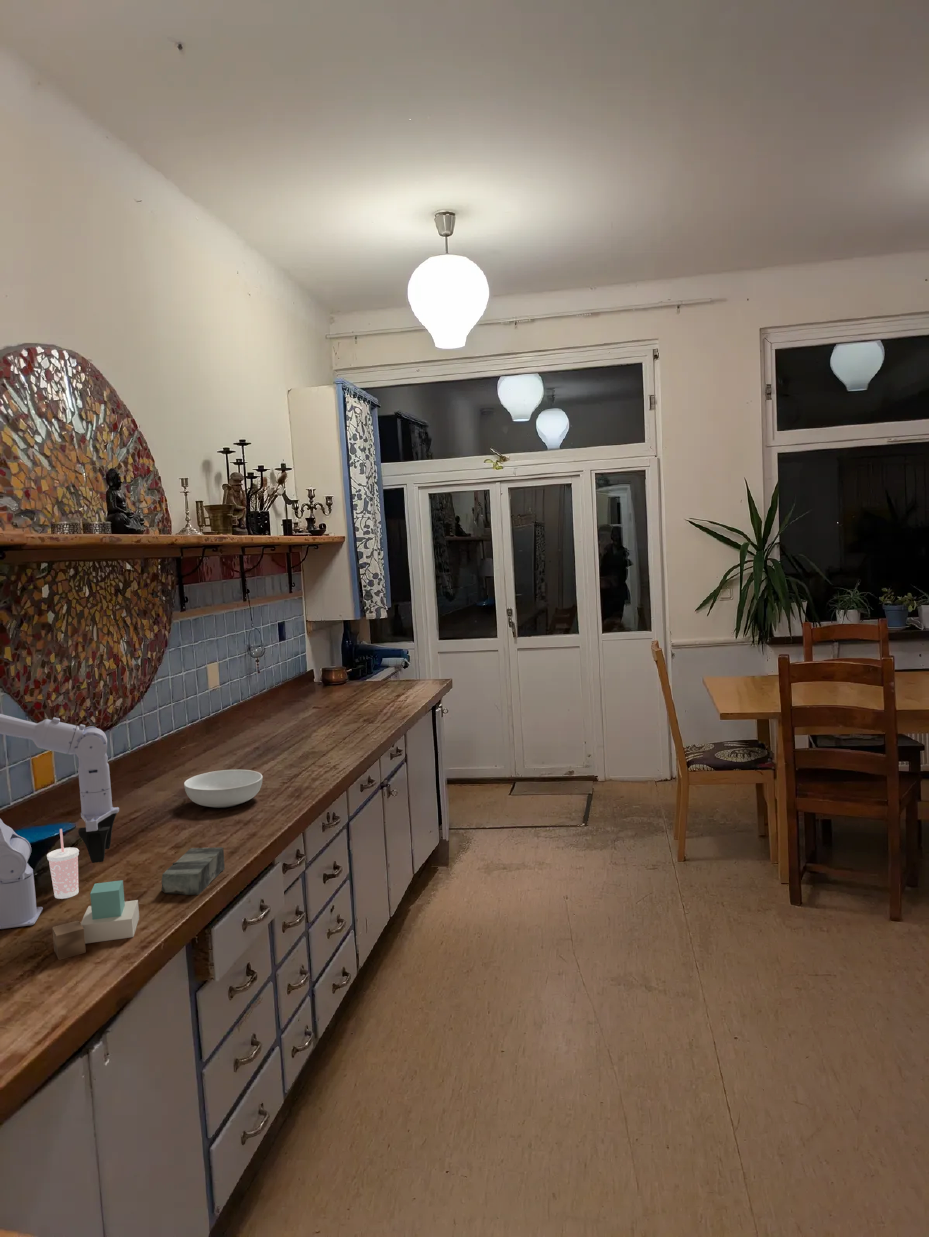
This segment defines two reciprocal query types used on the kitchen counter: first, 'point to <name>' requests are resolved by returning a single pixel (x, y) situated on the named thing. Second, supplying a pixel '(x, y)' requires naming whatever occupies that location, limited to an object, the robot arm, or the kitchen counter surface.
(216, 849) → the stone block
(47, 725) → the robot arm
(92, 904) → the teal cube
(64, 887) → the beverage cup
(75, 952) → the walnut cube
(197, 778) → the serving bowl
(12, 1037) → the kitchen counter surface
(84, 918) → the ceramic base
